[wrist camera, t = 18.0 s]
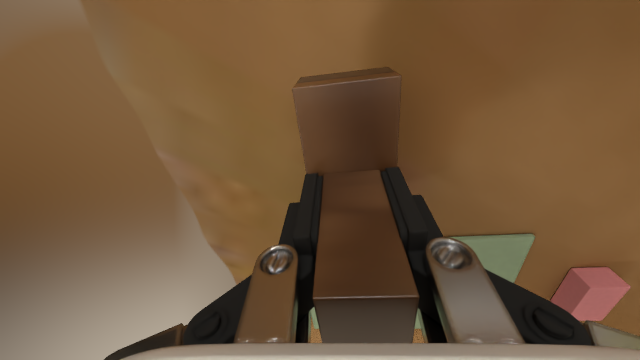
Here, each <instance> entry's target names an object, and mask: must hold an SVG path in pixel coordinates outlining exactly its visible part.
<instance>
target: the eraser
mask: <svg viewBox="0 0 640 360" xmlns="http://www.w3.org/2000/svg"><path fill="white" fill-rule="evenodd" d="M630 288H631V287H630V286H629V285H628V284H627V283H626V282H625V281H623V280H622V279H621V278H620V277H619V276H618V275H617V274H615V273H614V272H613V271H612V270H611V269H610V268H608V267H594V268H571V269H570V270H569V272H568V274H567V275H566V277H565V278H564V280H563V281H562V283H561V285H560V286H559V288H558V289H557V291H556V293H555V294H554V296H553V297H552V299H551V300H550V301H551V302H552V303H554V304H556V305H558V306H559V307H561V308H563V309H564V310H566V311H568V312H569V313H570V314H571V315H572V316H574V317H575V318H576V319H577V320H578V321H586V320H589V321H601V320H603V318H604V317H605V316H606V315H607V314H608V313H609V312H610V311H611V309H612V308H613V307H614V306H615V305H616V304H617V303H618V301H619V300H620V299H621V298H622V297H623V296H624V295H625V293H626V292H627V291H628V290H629V289H630Z"/></svg>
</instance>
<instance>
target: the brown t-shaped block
mask: <svg viewBox="0 0 640 360" xmlns="http://www.w3.org/2000/svg"><path fill="white" fill-rule="evenodd" d="M292 91H293V97H294V103H295V108H296V114H297V120H298V126H299V132H300V138H301V144H302V150H303V155H304V161H305V167H306V173H307V174H313V173H318V175H319V176H323V188H322V200H321V212H320V224H319V236H318V243H317V251H316V263H315V274H314V286H313V297H312V299H313V303H314V308H315V312H316V317H317V321H318V325H319V330H320V334H321V339H322V343H412V341H413V335H414V328H415V322H416V315H417V309H418V303H419V293H418V290H417V287H416V284H415V281H414V277H413V274H412V271H411V268H410V265H409V262H408V259H407V255H406V252H405V249H404V246H403V243H402V240H401V239H400V236H399V232H398V229H397V226H396V223H395V219H394V216H393V213H392V210H391V207H390V203H389V200H388V197H387V194H386V191H385V187H384V184H383V181H382V178H381V175H380V173H381V171H385V168H391V167H397V154H398V135H399V116H400V97H401V75H399V74H398V73H396V72H395V71H393V70H392V69H390V68H389V67H383V68H375V69H367V70H358V71H350V72H342V73H334V74H325V75H317V76H309V77H301V78H300V79H299V80H298V82H297V83H296V84H295V86H294V87H293V88H292Z"/></svg>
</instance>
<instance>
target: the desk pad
mask: <svg viewBox="0 0 640 360" xmlns="http://www.w3.org/2000/svg"><path fill="white" fill-rule="evenodd" d="M449 238H454V239H457V240H460V241H462V242H464V243H466V244H467V245H468V246H469V247H471V248H472V249H473V251H474V252H475V253H476V255H477V256H478V258H479V260H480V262H481V264H482V265H483V267H484V268H485V269H486V270H488V271H490V272H492V273H494V274H496V275H498V276H500V277H502V278H504V279H506V280H508V281H510V282H512V283H514V281H515V279H516V277H517V275H518V273H519V271H520V269H521V266H522V264H523V262H524V260H525V258H526V256H527V254H528V251H529V249H530V247H531V245H532V243H533V241H534V239H535V236H534V235H533V234H512V235H488V236H464V237H449ZM311 316H312V320H313V324H314V328H315V329H319V325H318V321H317V317H316V312H315V308H314V307H313V308H312V309H311ZM414 329H421V326H420V322H419V318H418V313H417V315H416V322H415V328H414Z"/></svg>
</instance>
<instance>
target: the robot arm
mask: <svg viewBox="0 0 640 360" xmlns="http://www.w3.org/2000/svg"><path fill="white" fill-rule="evenodd" d="M380 175H381V178H382V181H383V184H384V187H385V191H386V194H387V197H388V200H389V203H390V207H391V210H392V213H393V216H394V219H395V223H396V226H397V229H398V232H399V236H400V239H401V240H402V243H403V246H404V249H405V252H406V255H407V259H408V262H409V265H410V268H411V271H412V274H413V277H414V281H415V284H416V287H417V290H418V293H419V303H418V309H417V313H418V318H419V322H420V326H421V331H422V335H423V339H424V343H310V339H311V309H312V308H313V307H314V303H313V299H312V297H313V286H314V274H315V263H316V251H317V243H318V236H319V224H320V212H321V200H322V188H323V176H319V175H318V173H313V174H306V175H305V180H304V184H303V189H302V194H301V199H300V202H299V203H290V204H289V207H288V211H287V214H286V218H285V222H284V225H283V229H282V233H281V237H280V240H279V244H278V245H274V246H271V247H269V248H267V249H266V250H264V251H263V252H262V253H261V254H260V255H259V256H258V258H257V260H256V263H255V266H254V270H253V273H252V275H250V276H249V277H248V278H246V279H245V280H243V281H242V282H241V283H239V284H238V285H236V286H235V287H233V288H232V289H231V290H229V291H228V292H227V293H225V294H224V295H222V296H221V297H219V298H218V299H217V300H215V301H214V302H212V303H211V304H210V305H208V306H207V307H205V308H204V309H202V310H201V311H200V312H199V313H197V314H196V315H195V316H194V317H193V319H192V320H191V321H190V322H189V324H188V325H185V326H184V325H183V324H182V323H181V324H179V325H177V326H174V327H172V328H169V329H167V330H165V331H162V332H160V333H158V334H155V335H153V336H150V337H148V338H146V339H144V340H141V341H139V342H136V343H134V344H132V345H129V346H127V347H124V348H122V349H120V350H118V351H116V352H114V353H112V354H111V355H109V356H108V357H106V358H105V359H104V360H640V336H637V335H634V334H631V333H627V332H624V331H621V330H618V329H615V328H611V327H608V326H605V325H602V324H599V323H595V322H592V321H589V320H586V321H585V322H584V323H582V322H579V321H578V320H577V319H576V318H575V317H574V316H572V315H571V314H570V313H569V312H568V311H566V310H564V309H563V308H561V307H559V306H558V305H556V304H554V303H552V302H550V301H548V300H546V299H544V298H542V297H540V296H538V295H536V294H534V293H532V292H530V291H528V290H526V289H524V288H522V287H520V286H518V285H516V284H514V283H512V282H510V281H508V280H506V279H504V278H502V277H500V276H498V275H496V274H494V273H492V272H490V271H488V270H486V269H485V268H484V267H483V265H482V264H481V262H480V260H479V258H478V256H477V255H476V253H475V252H474V251H473V249H472V248H471V247H469V246H468V245H467V244H466V243H464V242H462V241H460V240H457V239H454V238H449V237H443V235H442V233H441V231H440V229H439V227H438V226H437V224H436V222H435V220H434V218H433V216H432V214H431V212H430V210H429V208H428V206H427V204H426V203H425V201H424V199H423V197H422V196H421V195H412V194H411V192H410V190H409V188H408V186H407V184H406V182H405V179H404V177H403V175H402V173H401V171H400V169H399V167H391V168H385V171H381V173H380Z"/></svg>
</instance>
